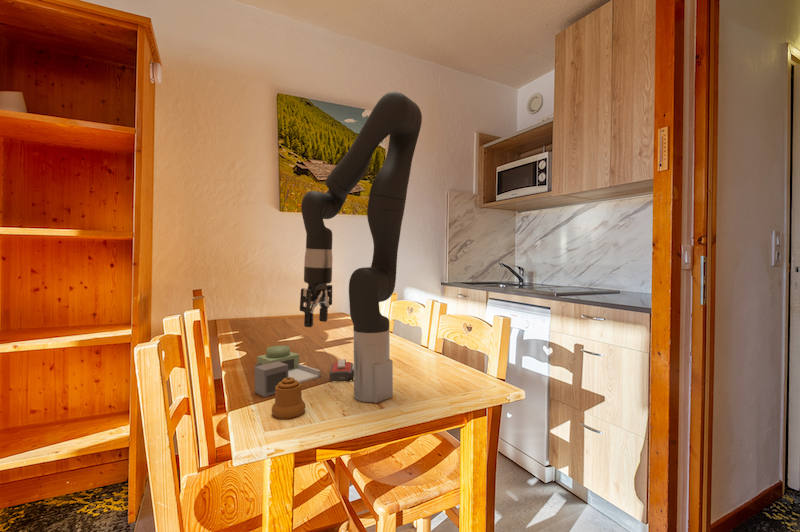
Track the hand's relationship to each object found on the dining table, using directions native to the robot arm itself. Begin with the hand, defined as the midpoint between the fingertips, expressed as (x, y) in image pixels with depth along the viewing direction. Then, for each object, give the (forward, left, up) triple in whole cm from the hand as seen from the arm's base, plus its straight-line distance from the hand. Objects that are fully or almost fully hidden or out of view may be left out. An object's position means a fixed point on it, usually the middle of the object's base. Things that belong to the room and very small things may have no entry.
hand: (316, 323), depth 107 cm
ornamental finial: (-10, +15, -18) cm, 25 cm away
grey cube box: (+6, +10, -18) cm, 21 cm away
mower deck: (+15, -1, -17) cm, 23 cm away
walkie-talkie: (+4, -14, -18) cm, 23 cm away
